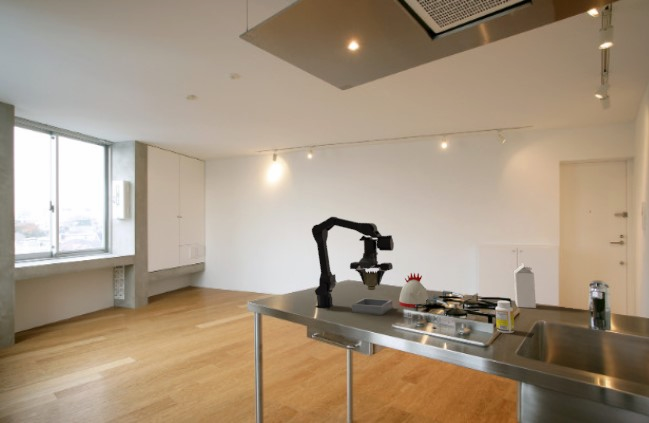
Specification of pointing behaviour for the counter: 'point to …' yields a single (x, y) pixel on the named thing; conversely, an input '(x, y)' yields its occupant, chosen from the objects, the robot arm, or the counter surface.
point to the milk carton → (524, 287)
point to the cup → (371, 279)
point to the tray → (372, 306)
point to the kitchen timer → (413, 292)
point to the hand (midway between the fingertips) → (371, 285)
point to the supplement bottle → (504, 317)
